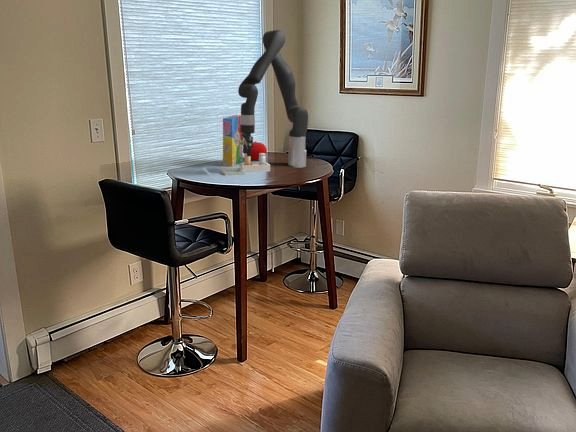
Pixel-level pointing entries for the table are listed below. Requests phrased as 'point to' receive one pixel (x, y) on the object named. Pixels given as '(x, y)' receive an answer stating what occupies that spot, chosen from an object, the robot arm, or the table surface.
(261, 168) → the fuse block
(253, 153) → the tomato
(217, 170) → the table surface
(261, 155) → the cylinder
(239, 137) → the game box
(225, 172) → the parts tray
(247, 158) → the fuse
